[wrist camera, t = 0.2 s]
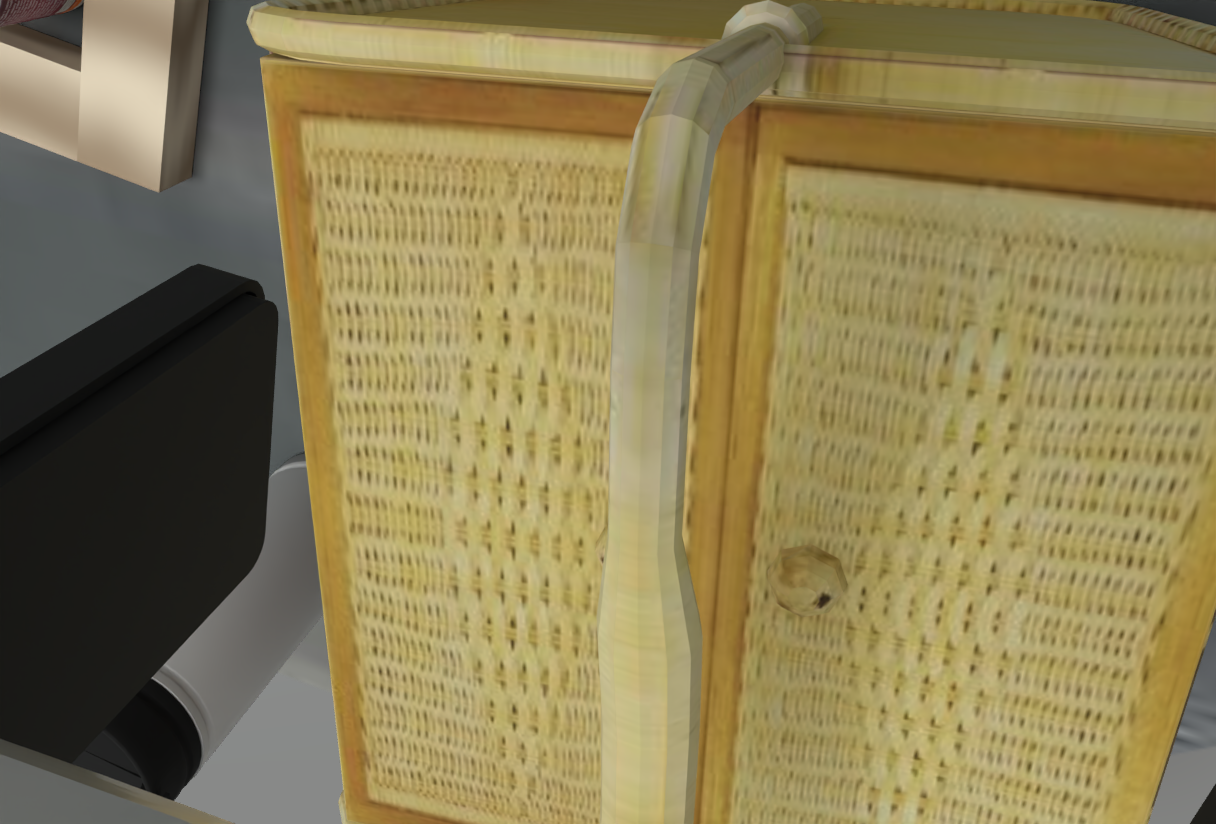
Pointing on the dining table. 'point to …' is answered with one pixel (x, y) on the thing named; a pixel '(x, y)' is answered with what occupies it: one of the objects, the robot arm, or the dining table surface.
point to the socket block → (111, 88)
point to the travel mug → (221, 656)
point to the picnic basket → (752, 402)
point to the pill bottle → (33, 9)
